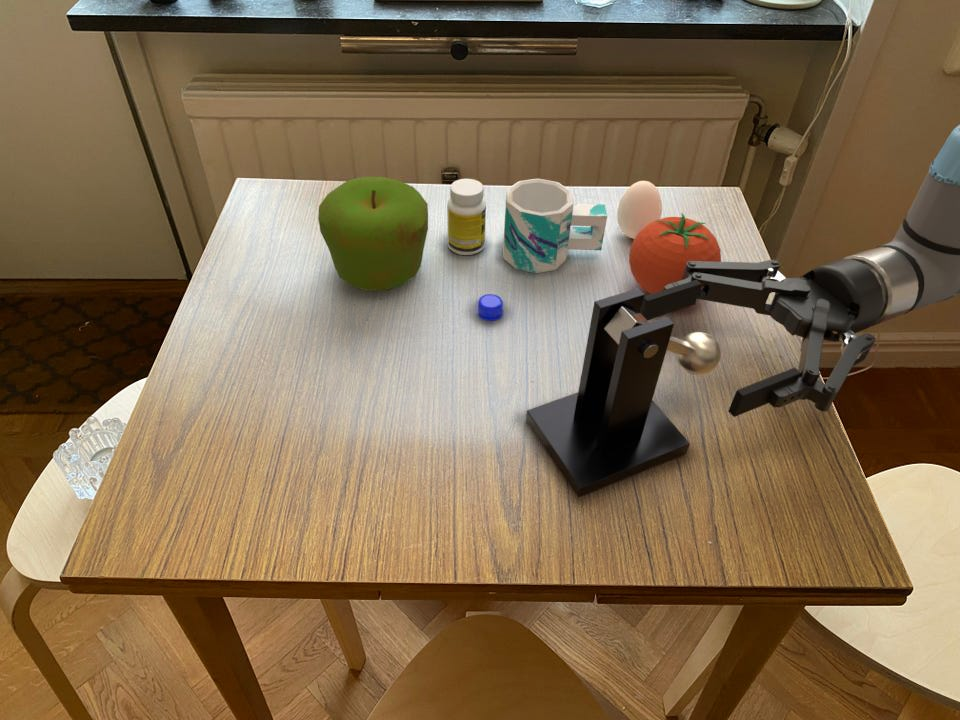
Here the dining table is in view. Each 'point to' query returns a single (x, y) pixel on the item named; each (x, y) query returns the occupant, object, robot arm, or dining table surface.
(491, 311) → the bottle cap
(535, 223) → the mug
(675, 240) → the tomato
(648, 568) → the dining table surface
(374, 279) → the apple
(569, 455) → the tap bracket
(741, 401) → the robot arm
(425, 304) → the dining table surface
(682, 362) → the lever
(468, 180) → the supplement bottle
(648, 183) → the egg
